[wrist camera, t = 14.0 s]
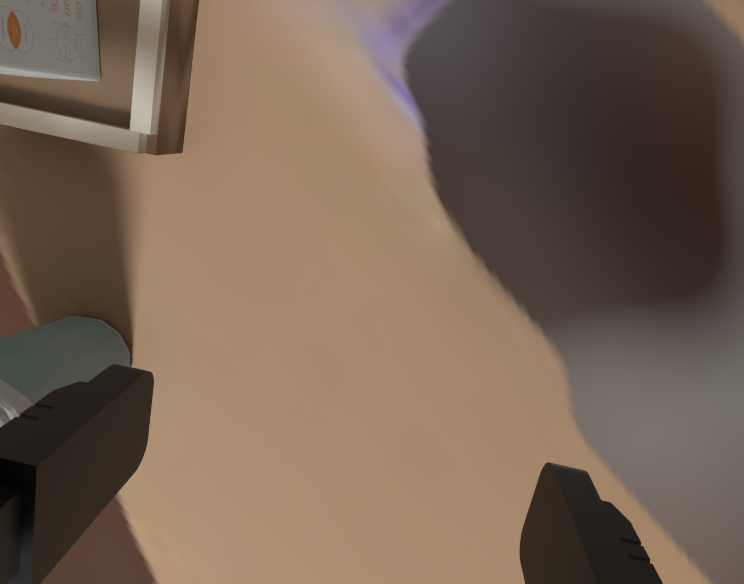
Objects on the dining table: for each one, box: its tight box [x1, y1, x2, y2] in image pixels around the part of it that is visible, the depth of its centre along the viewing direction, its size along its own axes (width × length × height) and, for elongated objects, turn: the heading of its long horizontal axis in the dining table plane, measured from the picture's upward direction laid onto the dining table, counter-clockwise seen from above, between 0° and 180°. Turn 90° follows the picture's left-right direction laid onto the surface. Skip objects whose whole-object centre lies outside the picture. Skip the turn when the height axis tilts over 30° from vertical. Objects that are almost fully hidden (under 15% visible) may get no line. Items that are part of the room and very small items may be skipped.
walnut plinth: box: [0, 0, 199, 155], centre depth 35 cm, size 14×14×5 cm
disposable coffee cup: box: [0, 315, 130, 427], centre depth 36 cm, size 11×11×15 cm
